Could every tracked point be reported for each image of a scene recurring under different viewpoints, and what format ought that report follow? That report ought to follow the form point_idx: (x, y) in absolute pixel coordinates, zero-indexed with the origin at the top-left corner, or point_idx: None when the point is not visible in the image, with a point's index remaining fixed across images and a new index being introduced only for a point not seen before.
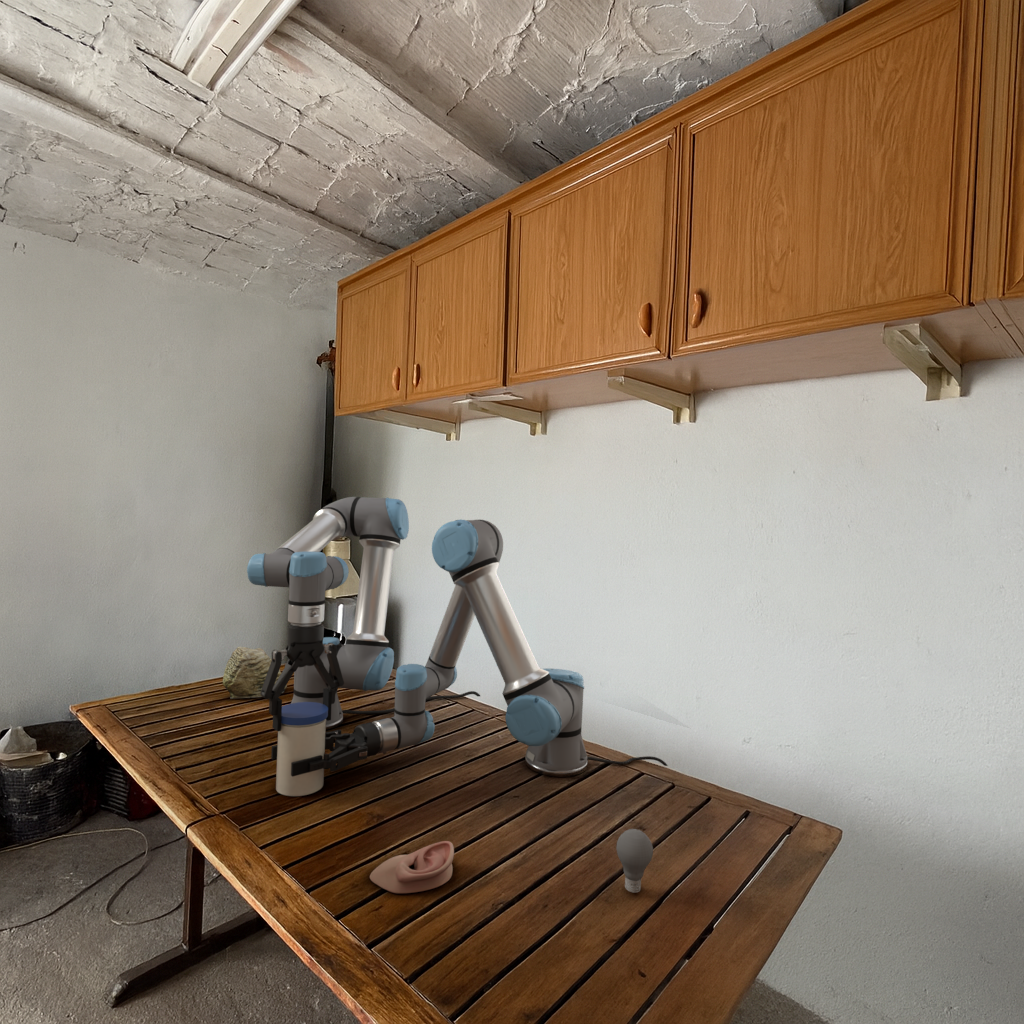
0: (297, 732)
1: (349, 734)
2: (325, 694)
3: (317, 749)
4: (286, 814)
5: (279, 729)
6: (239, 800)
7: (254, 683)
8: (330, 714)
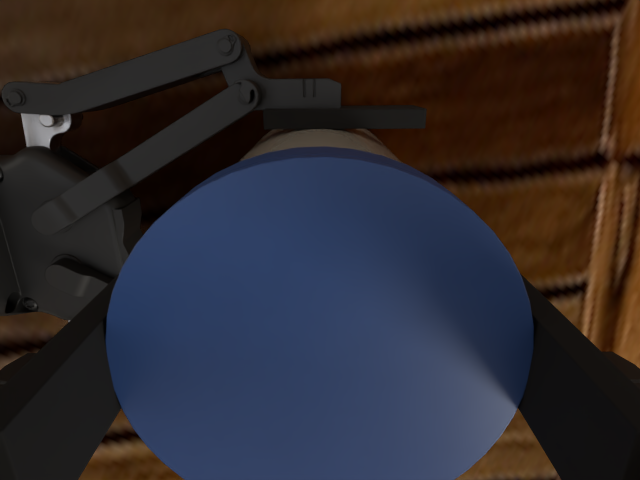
0: None
1: (47, 267)
2: (57, 453)
3: (279, 138)
4: (454, 9)
5: None
6: (520, 211)
7: None
8: (109, 287)
